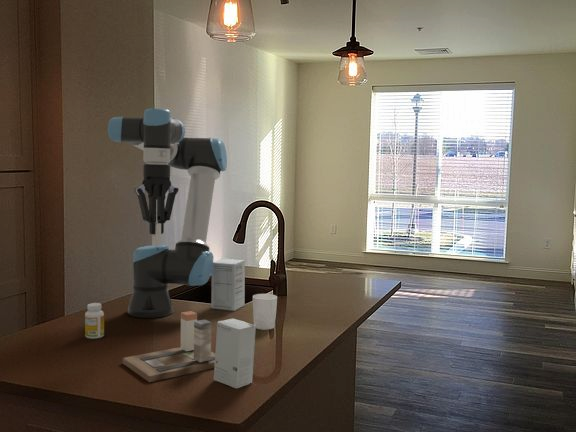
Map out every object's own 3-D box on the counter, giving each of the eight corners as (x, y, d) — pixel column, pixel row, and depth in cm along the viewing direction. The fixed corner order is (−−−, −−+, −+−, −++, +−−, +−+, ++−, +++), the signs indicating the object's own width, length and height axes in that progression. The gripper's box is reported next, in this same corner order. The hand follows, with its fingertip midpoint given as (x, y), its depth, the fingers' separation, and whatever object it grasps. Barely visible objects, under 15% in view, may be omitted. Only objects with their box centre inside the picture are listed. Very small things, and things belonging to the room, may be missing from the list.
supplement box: (245, 305, 228) (246, 260, 226) (234, 311, 219) (235, 264, 217) (221, 302, 231) (222, 257, 229) (210, 308, 222) (211, 261, 220)
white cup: (273, 331, 196) (274, 300, 195) (249, 329, 197) (249, 298, 196) (278, 324, 204) (279, 294, 203) (255, 322, 205) (256, 293, 204)
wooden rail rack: (149, 382, 150) (149, 333, 149) (122, 363, 163) (122, 318, 162) (226, 365, 164) (227, 320, 163) (196, 349, 176) (197, 307, 175)
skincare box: (213, 380, 153) (214, 321, 151) (230, 374, 157) (231, 317, 156) (237, 389, 147) (238, 328, 146) (255, 383, 152) (256, 323, 150)
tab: (186, 351, 168) (186, 315, 167) (180, 348, 170) (180, 312, 169) (196, 349, 170) (197, 313, 169) (190, 346, 172) (191, 311, 171)
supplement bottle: (98, 332, 190) (98, 301, 189) (107, 336, 186) (107, 304, 185) (81, 335, 186) (81, 304, 185) (90, 340, 182) (90, 307, 181)
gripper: (141, 163, 170) (141, 248, 173) (183, 164, 178) (182, 245, 181) (129, 162, 176) (129, 245, 179) (171, 163, 184) (170, 242, 187)
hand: (156, 245), depth 180 cm, fingers closed
